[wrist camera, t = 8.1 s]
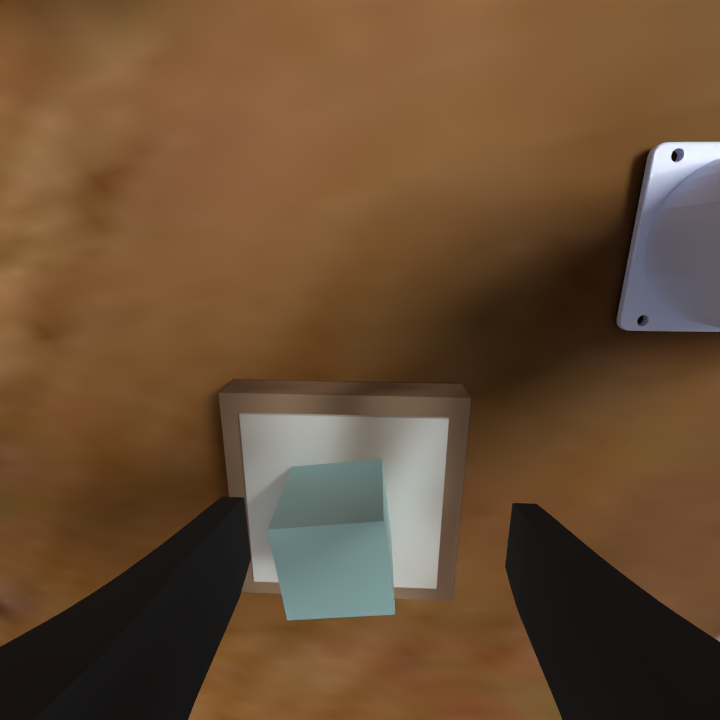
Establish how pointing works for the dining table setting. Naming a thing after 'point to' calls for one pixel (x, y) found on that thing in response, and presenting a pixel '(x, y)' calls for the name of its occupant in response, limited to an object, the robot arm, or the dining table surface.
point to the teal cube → (334, 541)
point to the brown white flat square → (354, 443)
